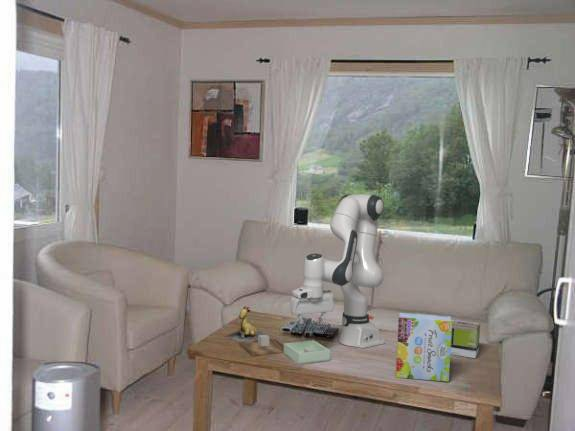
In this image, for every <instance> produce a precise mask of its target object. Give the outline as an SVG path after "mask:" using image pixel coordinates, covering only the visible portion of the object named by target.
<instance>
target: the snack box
mask: <svg viewBox="0 0 575 431" xmlns="http://www.w3.org/2000/svg"><path fill="white" fill-rule="evenodd" d="M451 319H452V317H451V316H450V315H449V316H448V315H437V314H424V313H407V312H398V319H397V322H398V324H397V333H396V334H397V335H396V336H397V339H396V354H395V356H396V359H395V377H396V379H397V378H401V379H413V380H423V381H434V382H447V383H449V382H450V368H451V367H450V366H451V354H450V353H451V336H452V320H451Z"/></svg>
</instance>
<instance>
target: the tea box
mask: <svg viewBox="0 0 575 431" xmlns="http://www.w3.org/2000/svg"><path fill="white" fill-rule="evenodd" d="M451 320H452V336H451V353H450V355H452V356H458V357H465V358H470V359H476V358H477V357H478V354H479V348H480V331H481V323H480V322H475V321H469V320H468V321H467V320H463V319H462V320H460V319H453V318H451Z"/></svg>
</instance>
